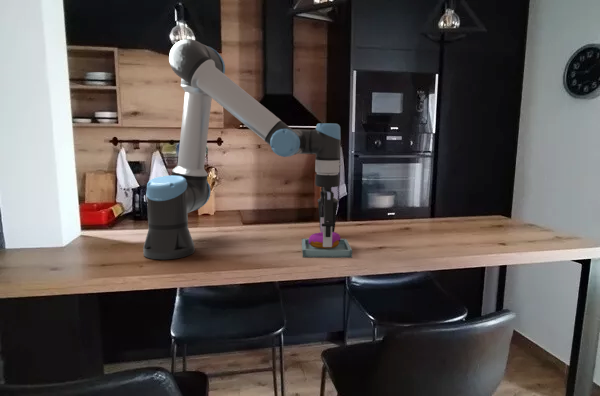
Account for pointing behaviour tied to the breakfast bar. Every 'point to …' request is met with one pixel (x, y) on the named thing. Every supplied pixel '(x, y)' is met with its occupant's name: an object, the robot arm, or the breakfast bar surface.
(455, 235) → the breakfast bar surface
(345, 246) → the tray
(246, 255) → the breakfast bar surface
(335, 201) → the drinking cup
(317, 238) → the donut
